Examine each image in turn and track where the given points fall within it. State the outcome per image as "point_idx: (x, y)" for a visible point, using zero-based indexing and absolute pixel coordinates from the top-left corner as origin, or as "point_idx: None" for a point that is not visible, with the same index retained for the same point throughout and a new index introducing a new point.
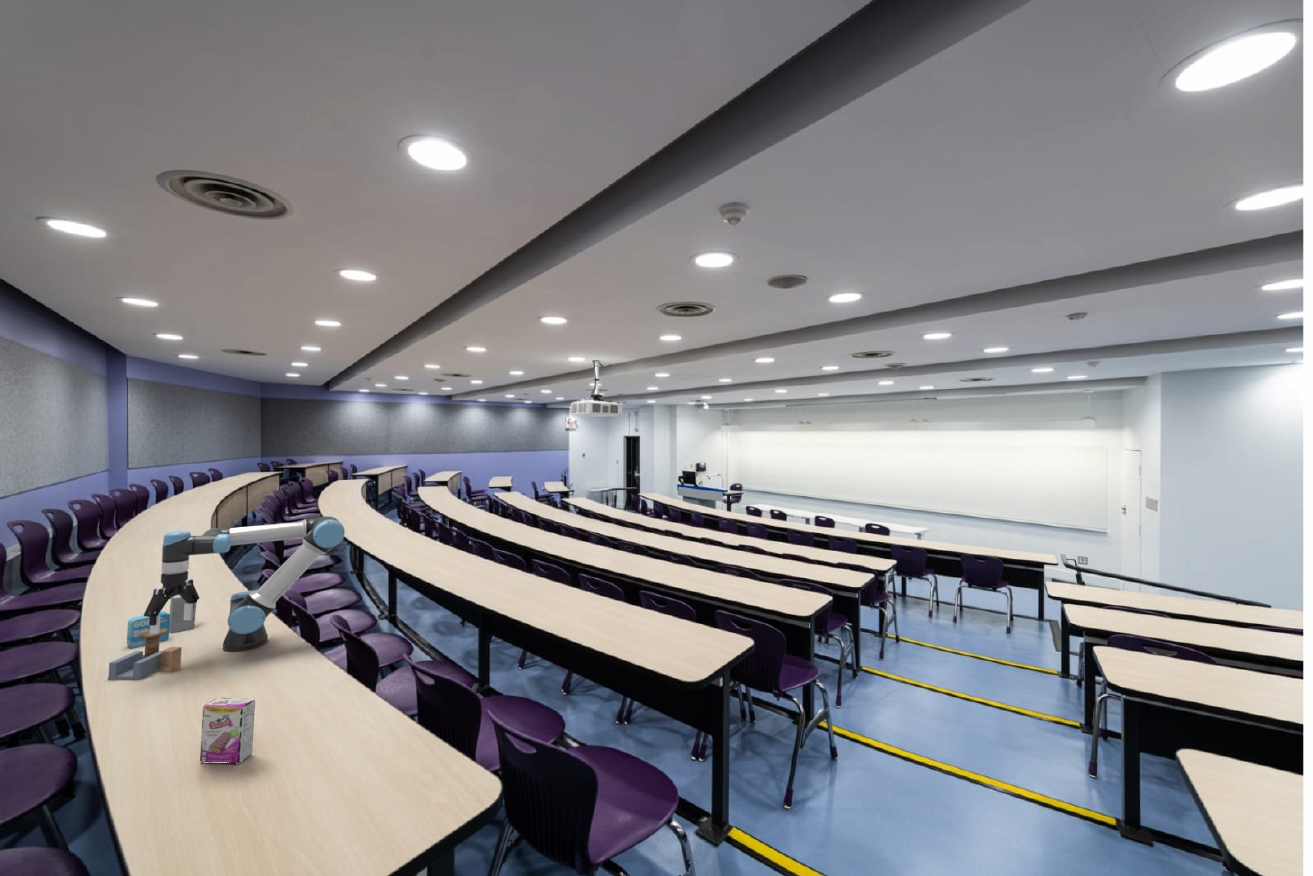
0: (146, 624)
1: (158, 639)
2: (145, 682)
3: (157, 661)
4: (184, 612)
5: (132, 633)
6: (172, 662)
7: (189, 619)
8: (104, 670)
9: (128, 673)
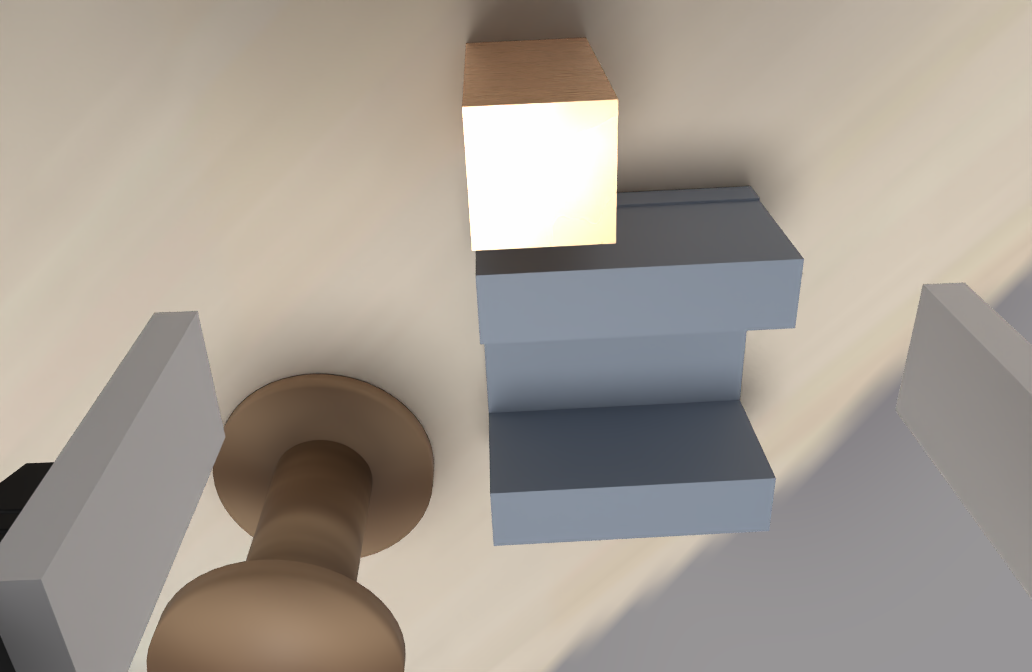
0: None
1: (276, 559)
2: (809, 85)
3: None
4: (177, 539)
5: None
6: (583, 62)
7: (197, 341)
8: (562, 586)
9: (685, 353)
